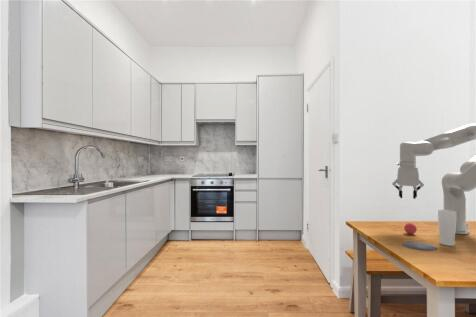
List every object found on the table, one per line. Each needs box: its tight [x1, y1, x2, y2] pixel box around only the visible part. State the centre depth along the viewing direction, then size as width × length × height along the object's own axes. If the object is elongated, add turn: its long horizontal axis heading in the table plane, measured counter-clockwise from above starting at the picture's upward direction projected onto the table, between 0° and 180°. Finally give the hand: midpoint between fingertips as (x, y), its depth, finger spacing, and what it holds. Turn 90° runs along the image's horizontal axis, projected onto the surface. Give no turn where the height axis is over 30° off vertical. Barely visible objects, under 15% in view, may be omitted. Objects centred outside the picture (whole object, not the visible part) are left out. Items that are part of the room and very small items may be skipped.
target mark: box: [401, 241, 438, 252], centre depth 129 cm, size 13×13×1 cm
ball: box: [403, 222, 418, 235], centre depth 152 cm, size 6×6×6 cm
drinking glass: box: [437, 209, 457, 247], centre depth 132 cm, size 7×7×15 cm
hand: (407, 197), depth 161 cm, fingers open, 5 cm apart
